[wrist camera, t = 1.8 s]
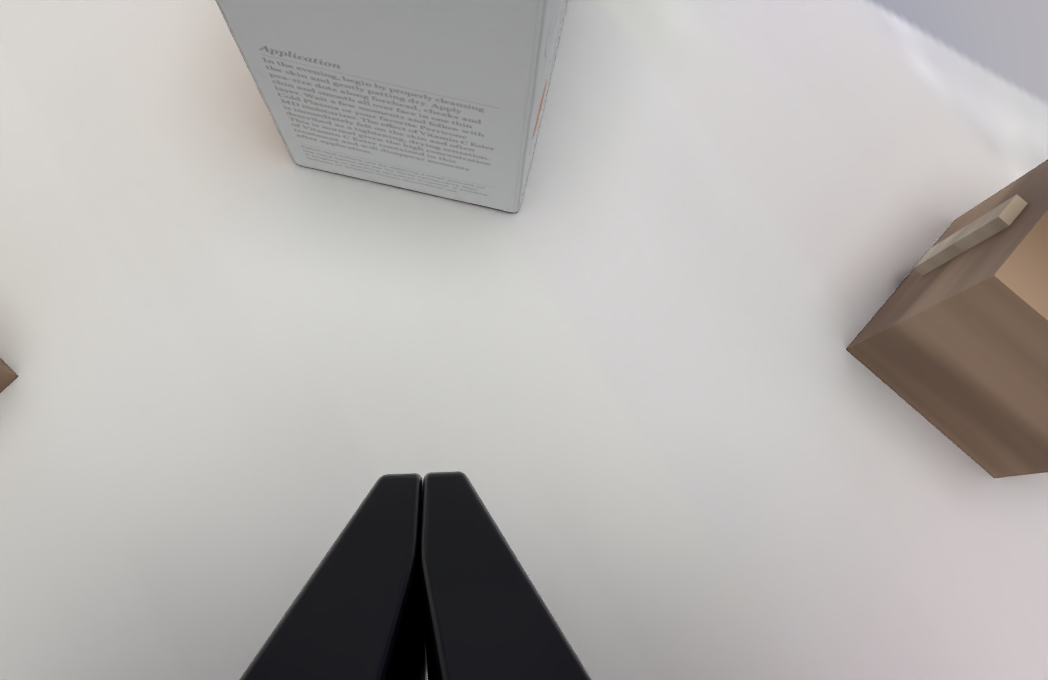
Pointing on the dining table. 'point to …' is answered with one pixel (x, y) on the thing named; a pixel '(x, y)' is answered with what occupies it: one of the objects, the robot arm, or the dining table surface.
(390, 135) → the small box
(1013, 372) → the walnut block one
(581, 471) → the dining table surface
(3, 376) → the walnut block seven
